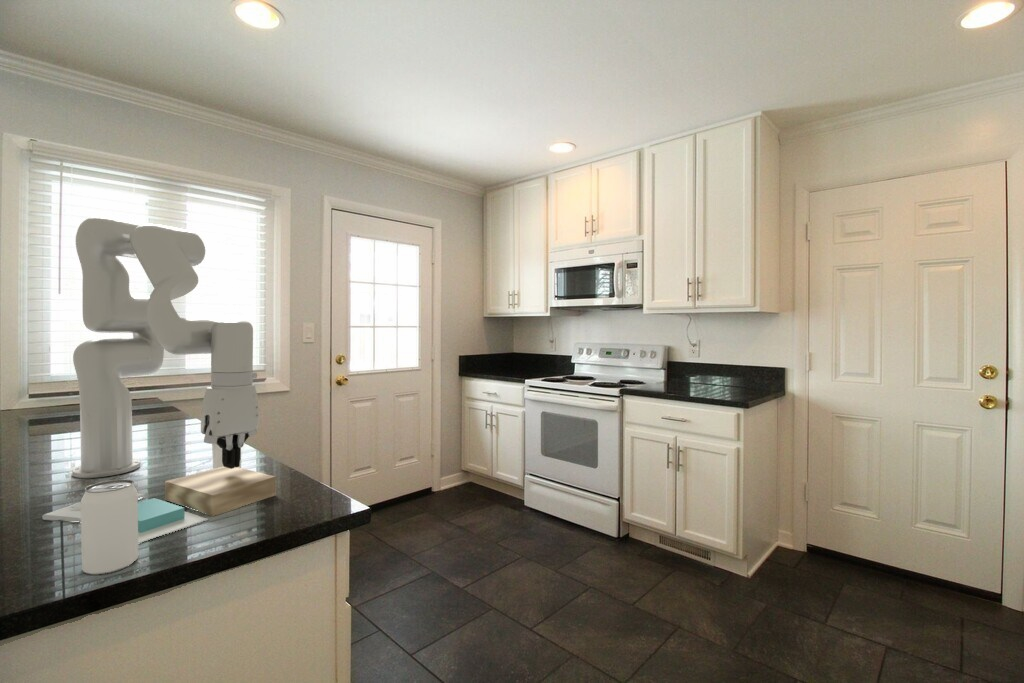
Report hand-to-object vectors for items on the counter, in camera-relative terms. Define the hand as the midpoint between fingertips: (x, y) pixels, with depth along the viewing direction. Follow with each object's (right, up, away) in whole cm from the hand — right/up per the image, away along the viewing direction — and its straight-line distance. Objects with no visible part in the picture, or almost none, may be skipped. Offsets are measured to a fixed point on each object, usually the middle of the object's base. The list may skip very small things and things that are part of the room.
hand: (231, 466), depth 102 cm
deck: (-1, -6, -2) cm, 6 cm away
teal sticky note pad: (-7, -4, -14) cm, 16 cm away
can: (-1, -7, -30) cm, 31 cm away
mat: (-7, -6, -14) cm, 17 cm away
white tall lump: (-9, -5, +14) cm, 18 cm away
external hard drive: (-21, -7, -9) cm, 24 cm away
